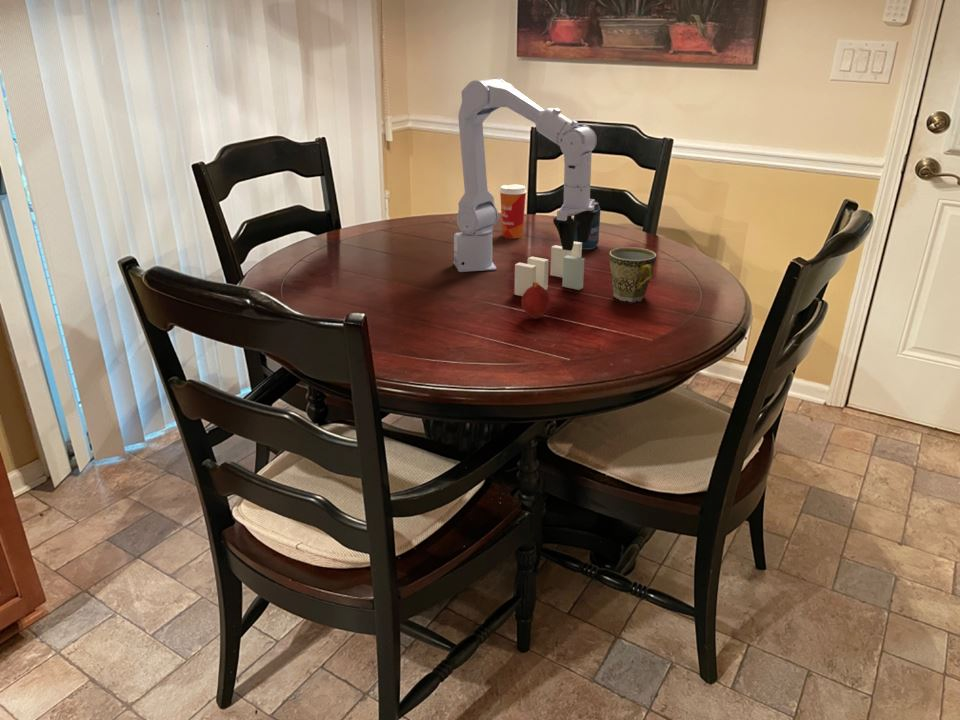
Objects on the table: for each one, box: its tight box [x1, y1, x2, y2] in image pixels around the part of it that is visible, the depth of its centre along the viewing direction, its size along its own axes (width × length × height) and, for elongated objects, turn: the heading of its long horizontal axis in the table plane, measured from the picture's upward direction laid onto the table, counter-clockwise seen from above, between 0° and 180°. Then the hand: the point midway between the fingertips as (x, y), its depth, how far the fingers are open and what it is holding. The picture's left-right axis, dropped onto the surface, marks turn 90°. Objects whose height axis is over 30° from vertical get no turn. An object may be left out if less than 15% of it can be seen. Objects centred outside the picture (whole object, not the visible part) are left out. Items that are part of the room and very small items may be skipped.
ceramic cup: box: [608, 246, 657, 303], centre depth 162 cm, size 13×10×10 cm
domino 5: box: [561, 255, 586, 291], centre depth 170 cm, size 2×4×7 cm, turn 56°
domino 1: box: [513, 261, 536, 297], centre depth 165 cm, size 2×4×7 cm, turn 56°
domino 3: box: [549, 244, 571, 279], centre depth 178 cm, size 2×4×7 cm, turn 56°
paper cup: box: [499, 183, 527, 240], centre depth 209 cm, size 8×8×14 cm
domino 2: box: [527, 256, 550, 291], centre depth 169 cm, size 2×4×7 cm, turn 56°
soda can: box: [573, 200, 601, 250], centre depth 199 cm, size 7×7×12 cm
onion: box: [520, 282, 551, 320], centre depth 152 cm, size 6×6×8 cm
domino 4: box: [571, 241, 583, 258], centre depth 182 cm, size 2×4×7 cm, turn 56°
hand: (575, 245), depth 168 cm, fingers open, 7 cm apart
